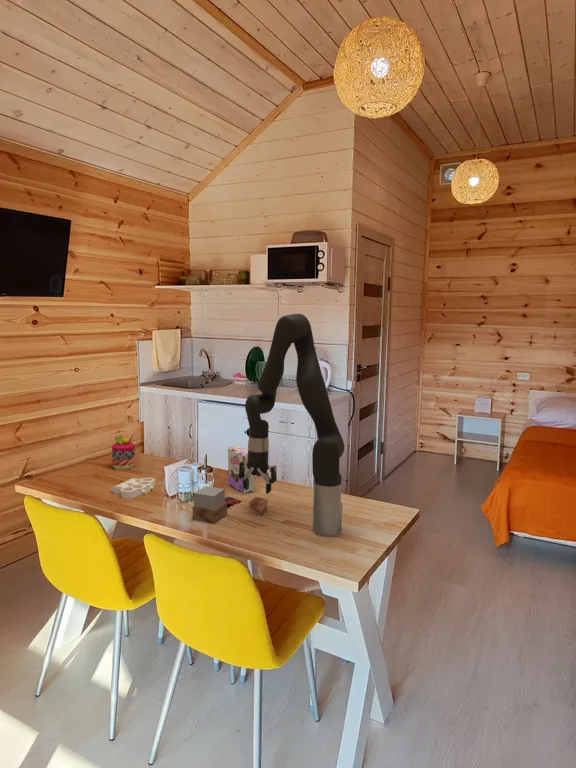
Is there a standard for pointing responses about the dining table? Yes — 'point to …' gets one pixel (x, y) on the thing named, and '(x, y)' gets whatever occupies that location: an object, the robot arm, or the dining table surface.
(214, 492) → the tower top
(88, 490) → the dining table surface
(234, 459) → the candy box
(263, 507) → the terracotta cube
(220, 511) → the tower bottom
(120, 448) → the cake
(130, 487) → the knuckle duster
